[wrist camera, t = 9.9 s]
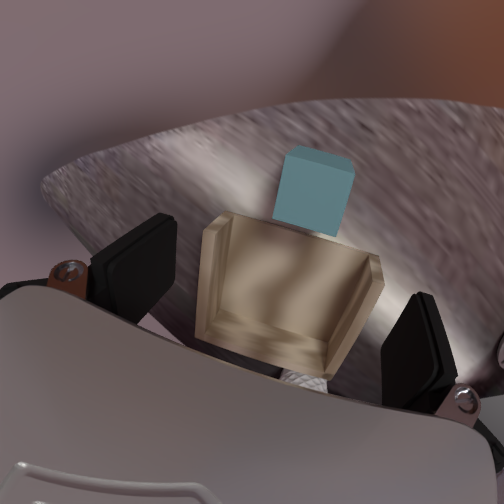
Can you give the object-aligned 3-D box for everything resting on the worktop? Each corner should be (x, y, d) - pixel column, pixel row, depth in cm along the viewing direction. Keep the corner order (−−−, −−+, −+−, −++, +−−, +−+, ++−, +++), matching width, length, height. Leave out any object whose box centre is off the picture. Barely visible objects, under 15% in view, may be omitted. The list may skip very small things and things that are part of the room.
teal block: (350, 159, 24) (355, 174, 18) (336, 208, 27) (335, 237, 21) (298, 145, 25) (285, 154, 19) (287, 194, 28) (272, 218, 22)
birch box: (378, 256, 27) (384, 285, 23) (333, 348, 35) (330, 380, 30) (225, 210, 30) (203, 230, 26) (212, 310, 37) (194, 337, 33)
